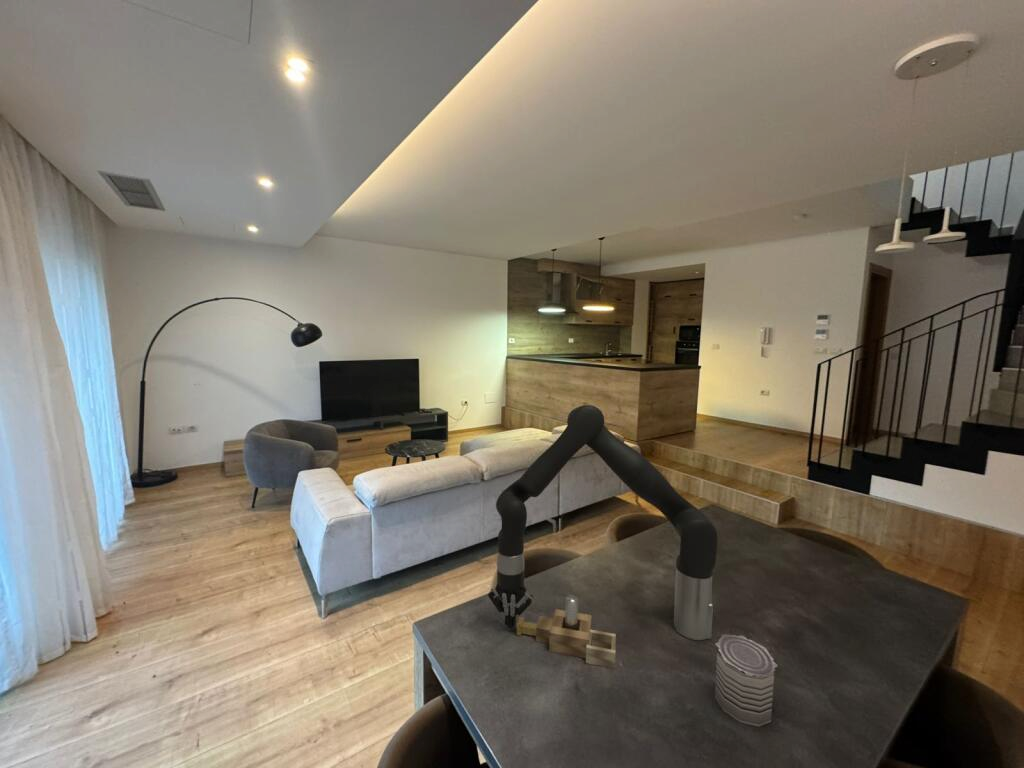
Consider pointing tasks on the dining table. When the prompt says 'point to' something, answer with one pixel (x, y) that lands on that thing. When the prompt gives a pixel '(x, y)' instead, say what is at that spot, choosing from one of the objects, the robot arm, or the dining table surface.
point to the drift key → (526, 627)
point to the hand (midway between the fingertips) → (510, 626)
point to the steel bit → (571, 612)
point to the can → (744, 679)
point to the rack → (601, 649)
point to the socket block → (564, 634)
